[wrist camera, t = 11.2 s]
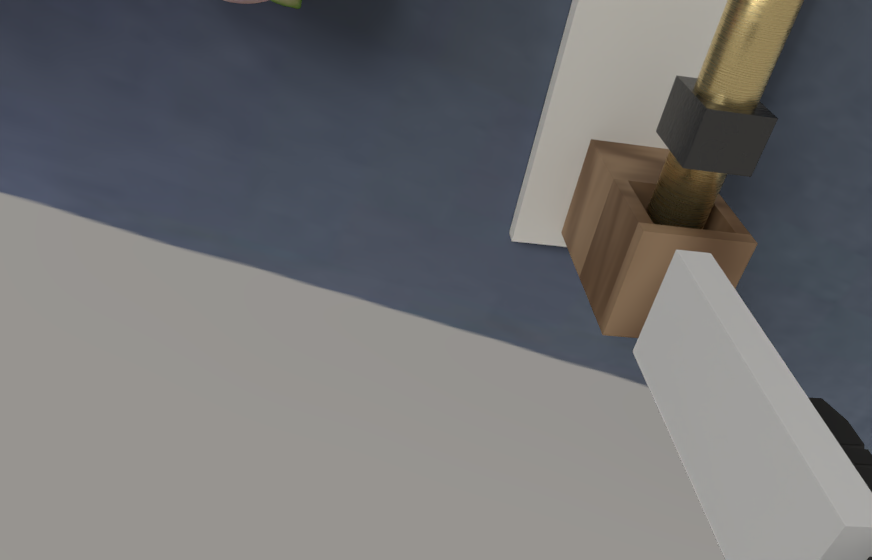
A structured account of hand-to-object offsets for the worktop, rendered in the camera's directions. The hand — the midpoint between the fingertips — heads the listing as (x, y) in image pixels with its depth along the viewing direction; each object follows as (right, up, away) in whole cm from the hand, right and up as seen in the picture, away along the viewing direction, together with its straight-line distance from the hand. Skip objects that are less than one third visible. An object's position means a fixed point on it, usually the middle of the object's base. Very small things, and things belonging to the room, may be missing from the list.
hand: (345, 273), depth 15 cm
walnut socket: (+13, +6, +33) cm, 36 cm away
